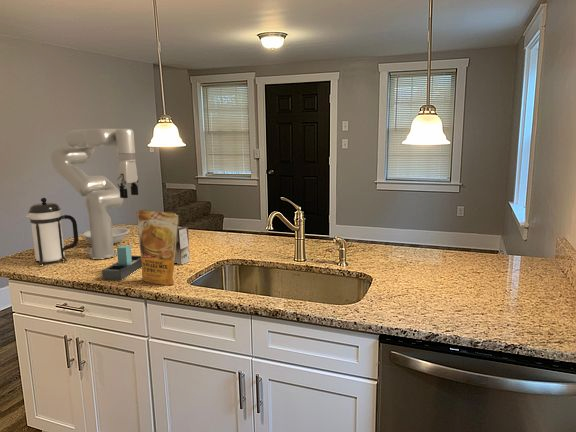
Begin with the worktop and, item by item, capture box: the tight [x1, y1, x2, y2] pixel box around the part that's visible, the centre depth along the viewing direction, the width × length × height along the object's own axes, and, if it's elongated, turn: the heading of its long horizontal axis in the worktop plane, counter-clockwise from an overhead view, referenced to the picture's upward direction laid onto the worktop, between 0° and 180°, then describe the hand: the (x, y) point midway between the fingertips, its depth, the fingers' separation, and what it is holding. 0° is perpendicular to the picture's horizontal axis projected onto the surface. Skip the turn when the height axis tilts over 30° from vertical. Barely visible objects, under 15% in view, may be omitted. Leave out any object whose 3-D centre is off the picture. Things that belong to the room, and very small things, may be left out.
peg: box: [116, 244, 133, 265], centre depth 188 cm, size 4×4×11 cm
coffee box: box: [174, 225, 191, 265], centre depth 201 cm, size 9×6×16 cm
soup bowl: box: [81, 227, 131, 245], centre depth 238 cm, size 24×24×7 cm
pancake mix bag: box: [136, 209, 180, 286], centre depth 174 cm, size 7×19×28 cm, turn 64°
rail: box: [101, 255, 142, 281], centre depth 189 cm, size 8×22×4 cm, turn 172°
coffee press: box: [25, 197, 79, 266], centre depth 204 cm, size 17×16×30 cm
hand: (129, 196), depth 198 cm, fingers open, 9 cm apart
